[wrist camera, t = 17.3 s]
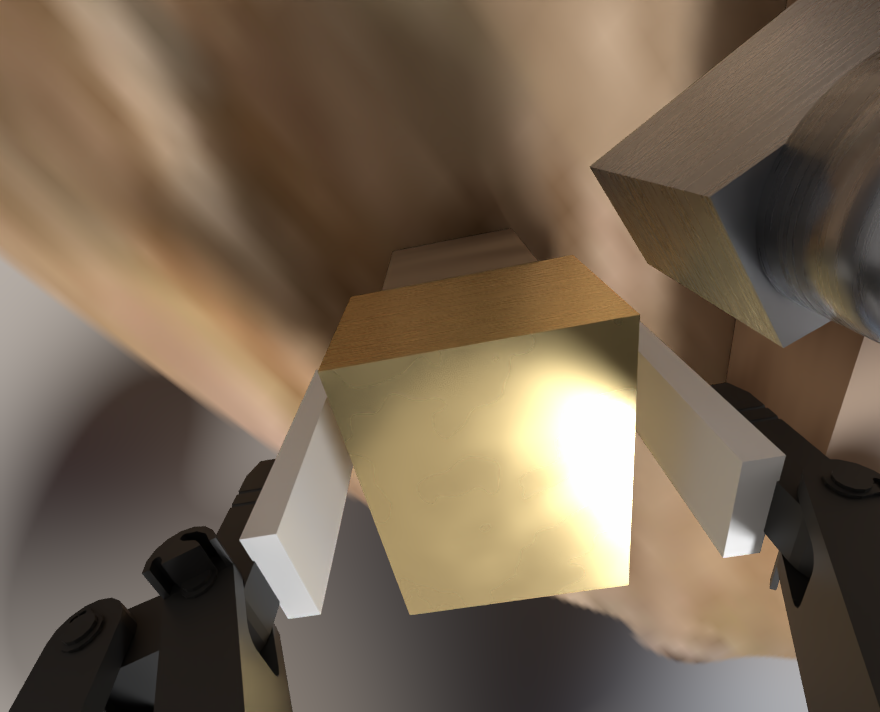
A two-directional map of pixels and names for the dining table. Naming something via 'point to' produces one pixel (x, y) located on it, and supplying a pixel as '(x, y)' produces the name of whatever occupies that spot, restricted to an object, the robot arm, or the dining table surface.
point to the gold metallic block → (492, 430)
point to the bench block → (456, 258)
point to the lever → (768, 176)
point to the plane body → (816, 386)
